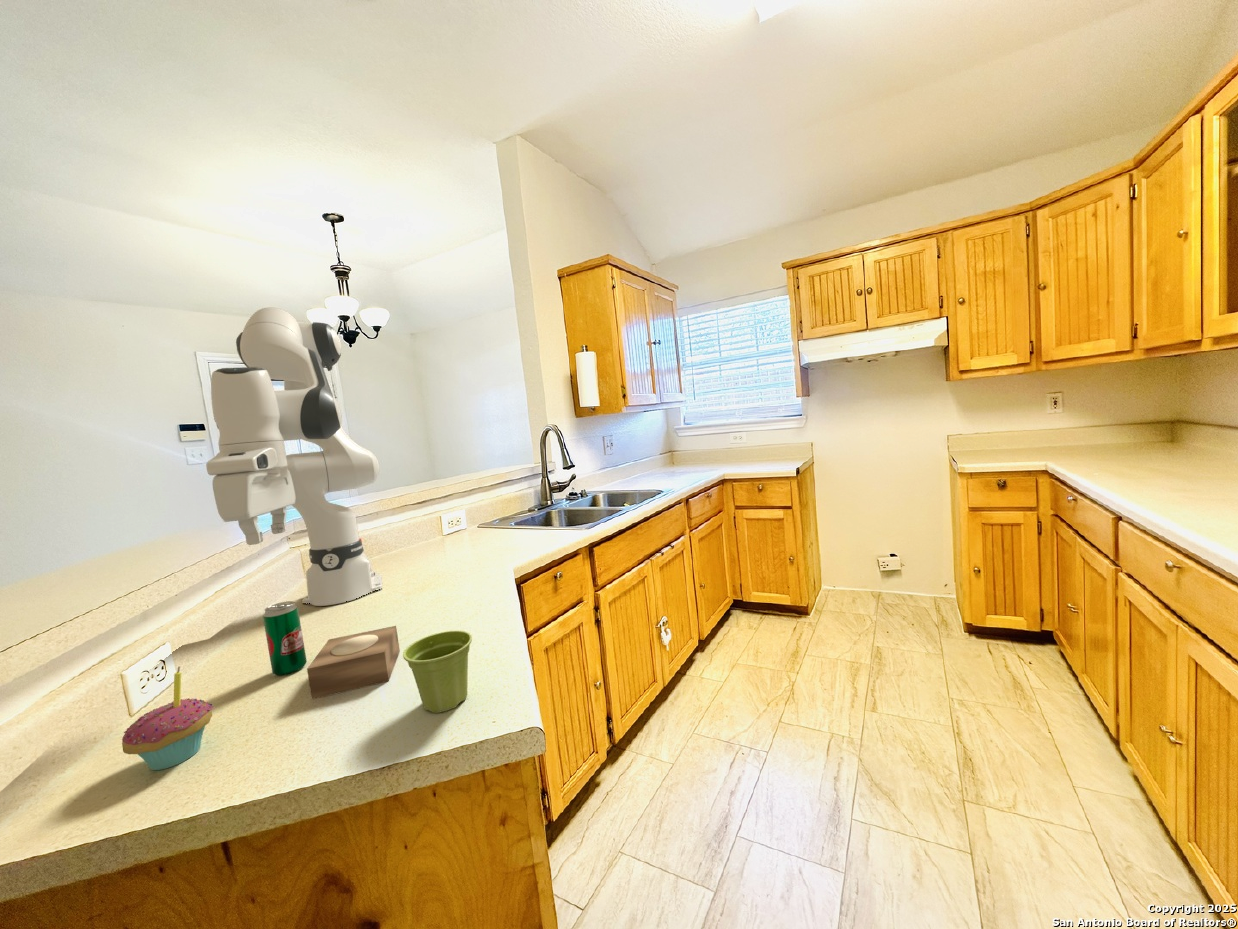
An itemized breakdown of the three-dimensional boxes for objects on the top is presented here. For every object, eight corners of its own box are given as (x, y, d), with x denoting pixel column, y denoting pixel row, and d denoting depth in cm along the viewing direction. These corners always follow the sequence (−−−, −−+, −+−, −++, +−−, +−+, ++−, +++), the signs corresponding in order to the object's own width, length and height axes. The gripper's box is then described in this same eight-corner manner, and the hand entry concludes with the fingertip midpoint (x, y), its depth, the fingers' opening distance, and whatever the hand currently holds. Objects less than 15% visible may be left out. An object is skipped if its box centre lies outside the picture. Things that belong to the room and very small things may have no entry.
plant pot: (413, 694, 70) (405, 639, 69) (477, 676, 73) (470, 624, 72) (408, 729, 61) (399, 668, 60) (481, 708, 64) (473, 649, 63)
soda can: (289, 678, 79) (277, 611, 78) (265, 677, 80) (254, 611, 79) (314, 662, 83) (303, 599, 82) (291, 662, 85) (281, 600, 84)
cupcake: (226, 727, 66) (211, 648, 64) (206, 763, 58) (189, 674, 57) (145, 752, 62) (128, 668, 60) (113, 794, 54) (93, 699, 53)
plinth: (333, 666, 81) (328, 638, 81) (399, 651, 85) (395, 624, 84) (311, 699, 71) (306, 667, 70) (388, 681, 74) (384, 650, 74)
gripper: (261, 460, 87) (272, 530, 88) (198, 464, 68) (214, 554, 69) (298, 456, 89) (309, 525, 90) (248, 459, 70) (263, 547, 71)
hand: (268, 538), depth 79 cm, fingers open, 8 cm apart
